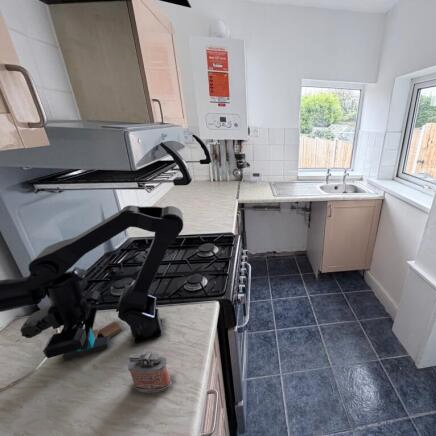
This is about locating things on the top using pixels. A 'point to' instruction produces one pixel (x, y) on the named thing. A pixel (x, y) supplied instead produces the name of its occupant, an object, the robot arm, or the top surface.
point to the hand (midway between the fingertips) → (86, 343)
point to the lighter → (149, 372)
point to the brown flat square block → (110, 330)
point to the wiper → (89, 346)
